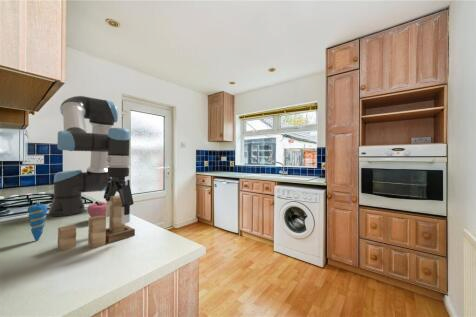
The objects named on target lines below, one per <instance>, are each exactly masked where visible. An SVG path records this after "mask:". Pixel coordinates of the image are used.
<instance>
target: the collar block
mask: <svg viewBox="0 0 476 317" xmlns="http://www.w3.org/2000/svg"><path fill="white" fill-rule="evenodd" d="M135 232H136V229H135V228H133V227H131V226H129V225H126V224H125V229H124V231H122V232H118V233H114V234H110V233H109V227H108V228H107V227H106V240H105V243H108V244H111V243H114V242H117V241H120V240H124V239H128V238H131V237H134V236H136V235H135V234H136V233H135Z"/></svg>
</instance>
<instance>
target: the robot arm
mask: <svg viewBox="0 0 476 317" xmlns="http://www.w3.org/2000/svg"><path fill="white" fill-rule="evenodd" d="M59 111H60V114H61V116H62V117H63V118H62V119H63V121H62V122H63V130H58V132H57V150H60V151H69V152H90V166H89V167H88V168H86V172H85V171H84V172H83V170H82V169H74V170H73V169H72V170H66V171H65V170H64V171H59V172H56V173H55V174H54V176H53V177H54V178H53V200H52V203H51V205H50V207H49V210H48V216H51V217H65V216H71V215H77V214H78V215H79V214H81V213H83V212H84V211H85V210H86V209H85V208H86V207H85V206H86V205H85V204H84V202H83V199H82V193H93V192H104V194H103V199H105V203H106V218H108V217H109V218H110V196H116V193H118V195H120V198H121V201H122V204H123V205H122V206H121V207H122V212H121V224H124V223H125V224H128V223H130V220H131V218H130V216H131V214H130V213H131V207H130V206H132V205H133V206H134V199H133V194H132V189H131V181H130V179H126V177H129V176H130V168H129V166H130V147H131V146H130V140H131V132H130V130H129V129H128V128H122V127H113V126H114V124H115V123H118V120H119V113H118V112H119V111H118V107H117V105H116V103H115V102H114V101H110V100H107V99H100V98H94V97H90V96H85V95H76V96H71V97H69V98H67V99H64V101H63V102H62V103H61V104H60V108H59ZM85 119H86V120H87V119H88V120H89V122H88V123H89V124H90V125H91V126H92V130H91V132H87V126H86V121H85ZM85 212H86V211H85Z"/></svg>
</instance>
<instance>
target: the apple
mask: <svg viewBox="0 0 476 317" xmlns="http://www.w3.org/2000/svg"><path fill="white" fill-rule="evenodd" d="M87 214H88V215H89V217H94V216H100V215H102V216H105V217H106V201H105V202H103V201H99V202H98V201H95V202H94V203H91V204H89V205H88V207H87ZM106 218H107V217H106Z"/></svg>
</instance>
